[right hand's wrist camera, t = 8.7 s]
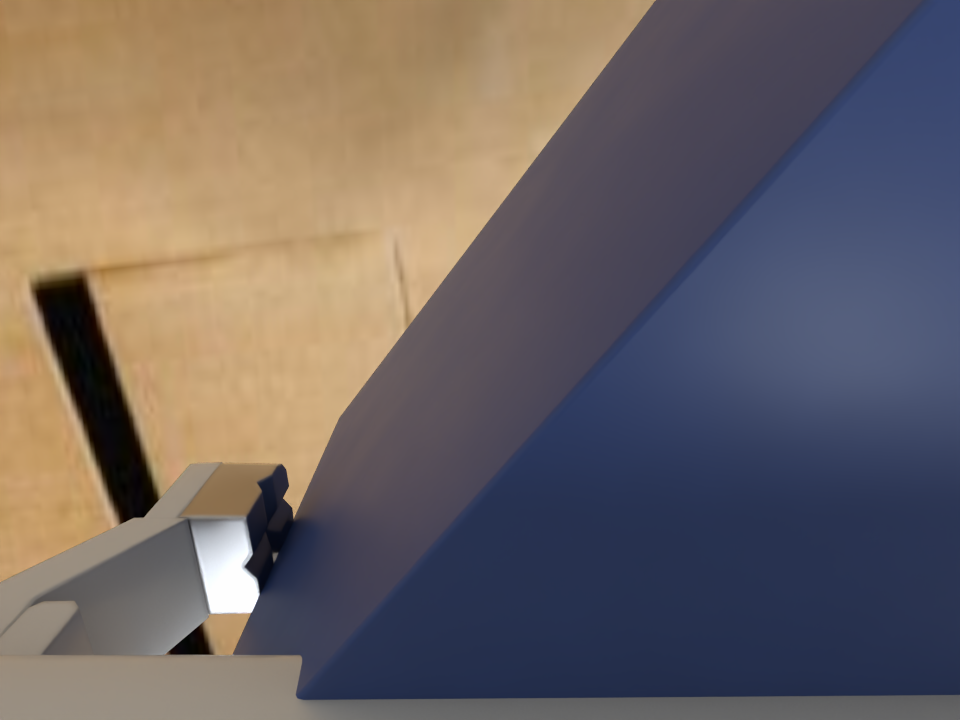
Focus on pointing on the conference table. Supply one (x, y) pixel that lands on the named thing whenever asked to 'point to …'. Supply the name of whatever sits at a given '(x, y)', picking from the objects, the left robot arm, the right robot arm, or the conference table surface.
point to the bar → (671, 394)
